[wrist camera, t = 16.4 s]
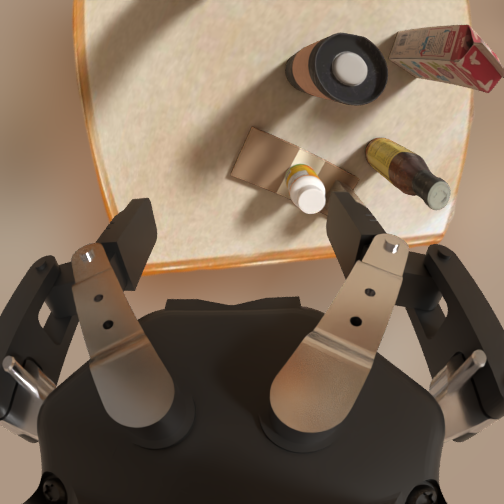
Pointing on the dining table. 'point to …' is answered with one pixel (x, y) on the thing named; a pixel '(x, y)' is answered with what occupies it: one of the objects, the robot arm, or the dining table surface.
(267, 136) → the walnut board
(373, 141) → the sauce bottle
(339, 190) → the silver rectangular block
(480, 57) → the juice carton
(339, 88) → the travel mug
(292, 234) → the dining table surface
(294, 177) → the supplement bottle
